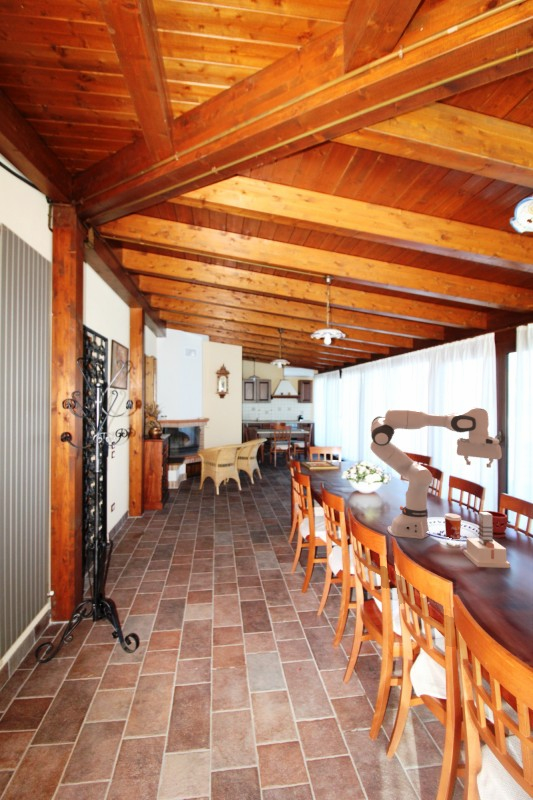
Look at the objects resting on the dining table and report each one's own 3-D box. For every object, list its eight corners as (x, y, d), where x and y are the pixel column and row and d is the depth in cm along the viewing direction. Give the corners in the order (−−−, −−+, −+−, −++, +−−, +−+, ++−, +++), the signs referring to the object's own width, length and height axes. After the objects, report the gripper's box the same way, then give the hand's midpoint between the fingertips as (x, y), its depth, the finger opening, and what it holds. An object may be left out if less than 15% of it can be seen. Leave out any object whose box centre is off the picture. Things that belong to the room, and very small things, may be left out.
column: (483, 561, 169) (483, 514, 169) (478, 557, 173) (478, 511, 173) (493, 562, 169) (493, 514, 169) (488, 558, 173) (488, 511, 173)
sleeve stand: (477, 566, 165) (477, 545, 165) (463, 553, 179) (463, 534, 179) (510, 567, 163) (510, 546, 163) (493, 554, 177) (493, 534, 177)
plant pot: (512, 540, 195) (512, 517, 195) (485, 538, 198) (485, 516, 198) (501, 531, 208) (501, 510, 208) (476, 529, 211) (476, 509, 211)
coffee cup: (455, 548, 185) (454, 518, 185) (440, 542, 192) (440, 514, 192) (465, 545, 189) (465, 516, 189) (451, 539, 196) (450, 512, 196)
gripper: (454, 438, 193) (454, 464, 193) (498, 441, 178) (498, 469, 178) (459, 437, 197) (459, 462, 197) (502, 440, 182) (502, 468, 182)
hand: (478, 466), depth 187 cm, fingers open, 8 cm apart
